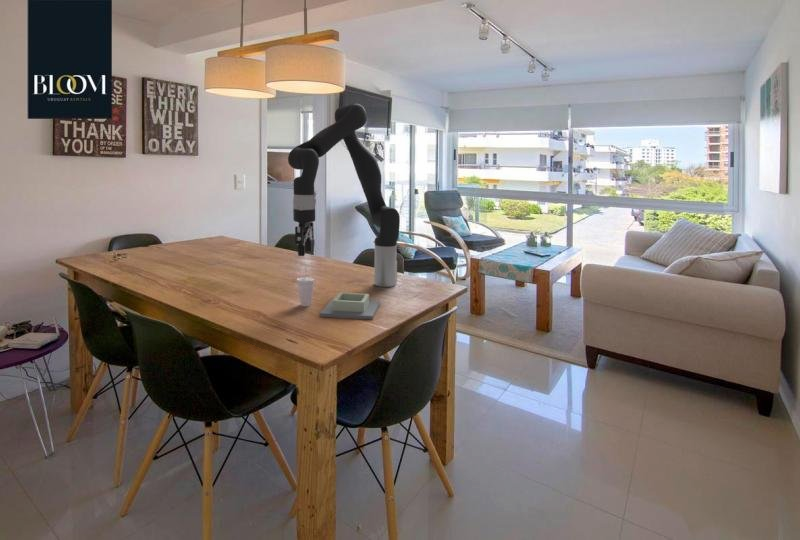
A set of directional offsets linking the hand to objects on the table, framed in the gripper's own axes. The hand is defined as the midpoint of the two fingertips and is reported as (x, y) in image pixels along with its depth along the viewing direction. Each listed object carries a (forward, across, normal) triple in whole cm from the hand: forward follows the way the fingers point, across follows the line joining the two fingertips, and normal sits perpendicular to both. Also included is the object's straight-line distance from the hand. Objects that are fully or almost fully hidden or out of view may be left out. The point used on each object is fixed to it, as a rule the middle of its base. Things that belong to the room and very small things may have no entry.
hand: (305, 253), depth 172 cm
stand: (+19, +3, +17) cm, 26 cm away
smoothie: (+19, 0, 0) cm, 19 cm away
